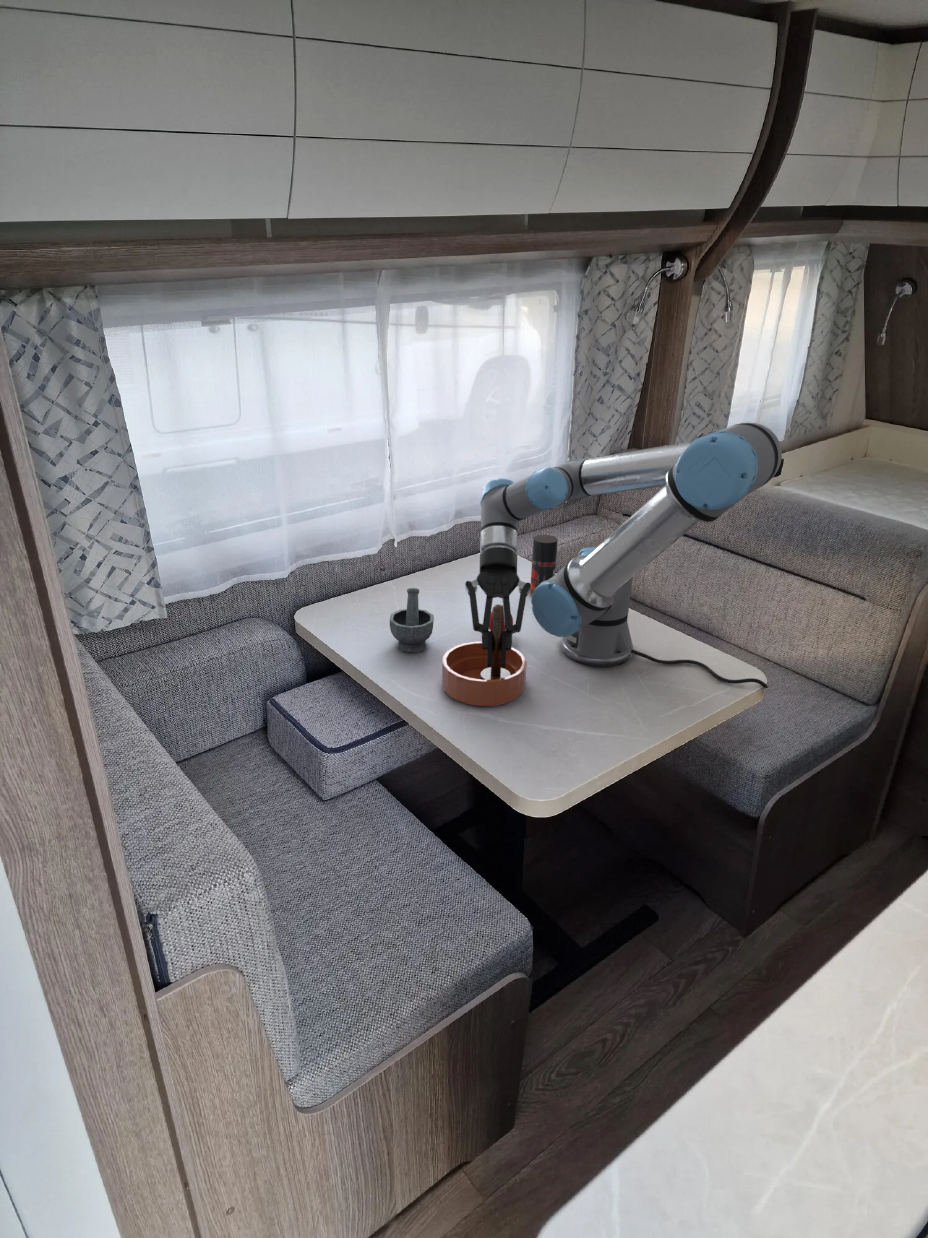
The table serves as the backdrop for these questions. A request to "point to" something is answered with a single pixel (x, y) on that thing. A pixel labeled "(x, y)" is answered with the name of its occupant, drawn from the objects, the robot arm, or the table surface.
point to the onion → (503, 621)
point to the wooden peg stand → (496, 648)
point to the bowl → (465, 676)
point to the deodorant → (543, 559)
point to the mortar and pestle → (411, 624)
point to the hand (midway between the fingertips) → (496, 665)
